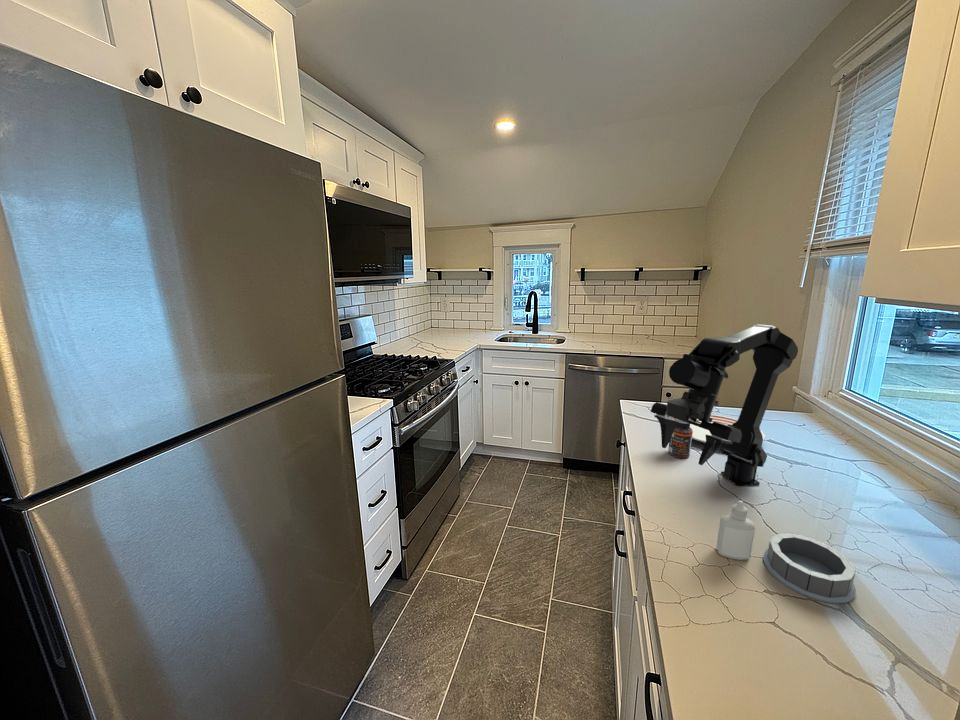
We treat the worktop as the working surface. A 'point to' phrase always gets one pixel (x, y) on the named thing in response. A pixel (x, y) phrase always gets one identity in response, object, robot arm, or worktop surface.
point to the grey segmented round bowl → (810, 568)
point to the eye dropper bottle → (736, 534)
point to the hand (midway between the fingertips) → (681, 455)
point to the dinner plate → (701, 433)
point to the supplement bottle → (681, 440)
